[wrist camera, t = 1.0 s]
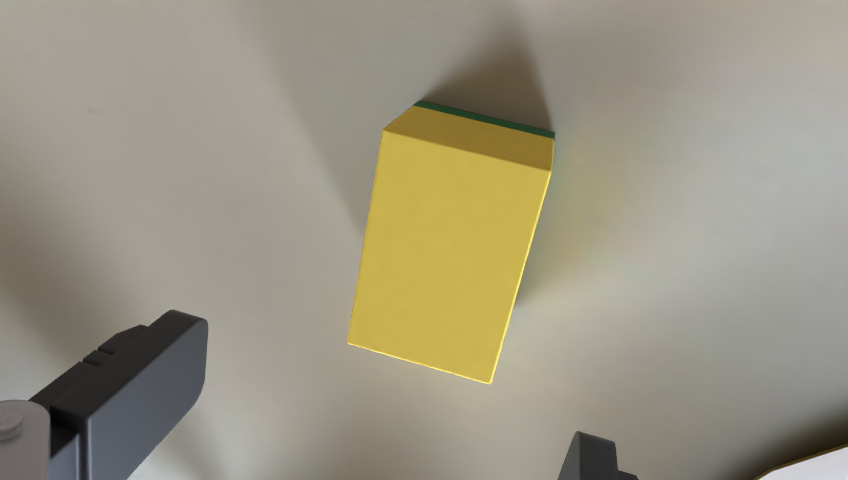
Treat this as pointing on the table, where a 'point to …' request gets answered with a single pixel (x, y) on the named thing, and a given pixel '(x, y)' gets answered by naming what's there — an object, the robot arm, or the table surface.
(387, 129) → the sponge
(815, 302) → the table surface
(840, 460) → the plate
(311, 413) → the table surface
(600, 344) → the table surface
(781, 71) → the table surface
